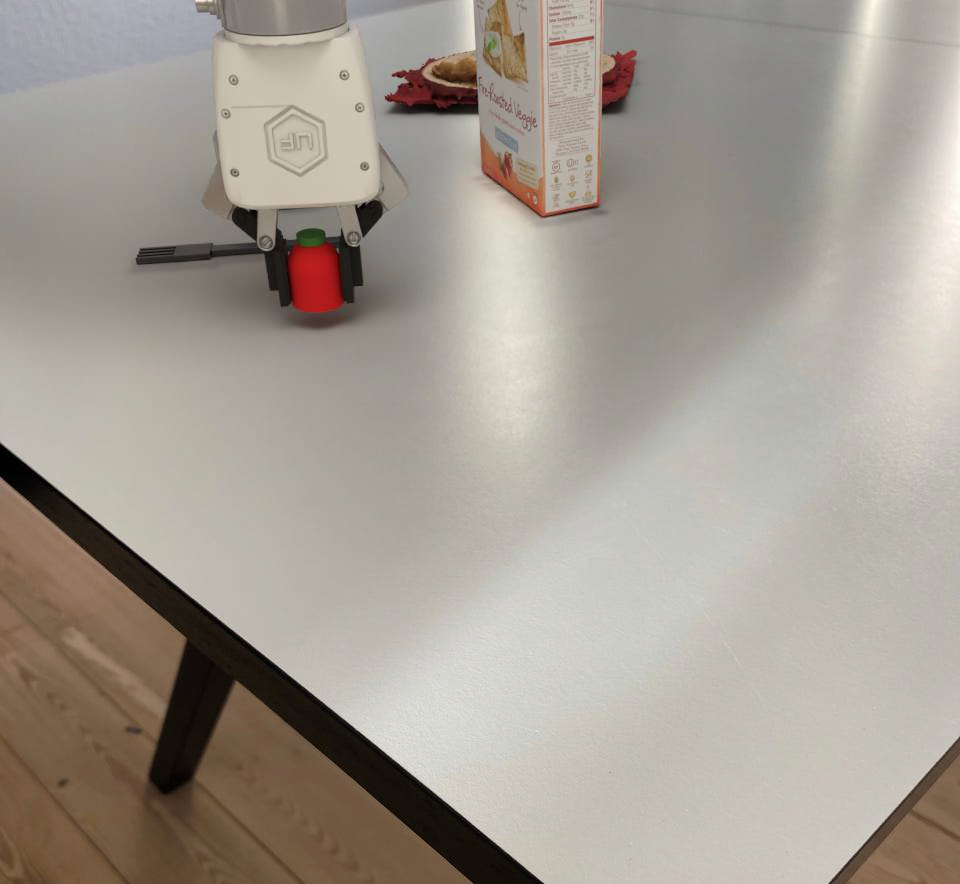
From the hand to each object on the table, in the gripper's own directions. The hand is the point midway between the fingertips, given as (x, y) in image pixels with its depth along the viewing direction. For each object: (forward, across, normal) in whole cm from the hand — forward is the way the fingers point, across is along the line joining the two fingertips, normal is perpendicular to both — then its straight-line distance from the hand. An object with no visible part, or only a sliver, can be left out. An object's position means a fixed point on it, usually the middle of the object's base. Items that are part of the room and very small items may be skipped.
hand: (318, 295), depth 79 cm
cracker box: (+2, +19, +25) cm, 31 cm away
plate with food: (+2, +21, +61) cm, 64 cm away
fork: (+2, -6, +15) cm, 16 cm away
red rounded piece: (0, 0, 0) cm, 0 cm away
